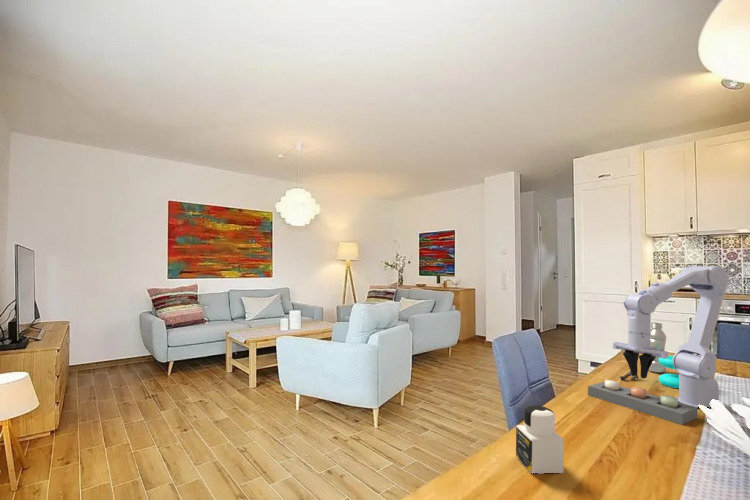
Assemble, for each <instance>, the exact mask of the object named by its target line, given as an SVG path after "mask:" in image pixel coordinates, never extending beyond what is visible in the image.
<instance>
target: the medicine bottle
mask: <svg viewBox="0 0 750 500" xmlns="http://www.w3.org/2000/svg"><path fill="white" fill-rule="evenodd" d="M523 413H524V414H523V415H524V419H523V420H524V421H523V423H524V424H517V425H516V427H515V428H516V430H515V431H516V432H515V457H516V458H517V459H518V461H519V462H520V463H521V464H522V465H523V467H525V469H526V470H527V471H528V473H529V474H531V473H532V474H531V475H536V474H535V473H538V474H537V475H543V474H544V473H559V474H564V469H565V467H564V464H565V463H564V462H565V461H564V459H565V456H564V455H565V453H564V452H565V440H564V438H563V437H562V436H560V434H558V433H557V432H555V431H556V430H555V429H556V414H555V412H554V411H553V410H552V409H550V408H548V407H546V406H542V405H528V406H526V407H525V408H524V411H523ZM533 473H534V474H533Z"/></svg>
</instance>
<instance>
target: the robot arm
mask: <svg viewBox="0 0 750 500" xmlns="http://www.w3.org/2000/svg"><path fill="white" fill-rule="evenodd" d="M729 279H730V276H729V275H728V273H727V271H726V270H725V268H723V267H722V266H720V265H716V266H715V265H714V266H712V265H711V266H707V265H706V266H705V265H704V266H703V265H701V266H700V265H688V266H686V267H685V268H681V270H680V272H679V273H677V274H675V276H673V277H671V278H670V279H668V280H667V281H665V282H655V281H654V282H652V283H651V284H650V286H648V287H647V288H645V289H641V290H639V292H637V293H631V294H628V296H626V298H625V301H623V307H624V309H625V310H626V315H627V316H628V318H627V319H628V323H627V325H628V327H627V329H628V330H627V331H628V332H627V334H628V338H627V341H628V342H627V343H625V342H619V341H615V342H613V343H612V348H613V349H615V350H621V351H624V352H623V353H622V355H623V357H624V358H625V360H626V362H627V364H628V367H629V371H631V377H632V376H633V377H634V376H636V375H638V363H639V364H640V379H647V377H648V373H649V371H650V370H649V368H650V366H651V364H652V362H653V361H654V359H655V358H656V357H660V358H663V359H666V358H668V356H669V351H666V350H664V351H662V350H658V349H654V348H650V347H651V329H652V327H651V323H652V321H651V320H652V319H651V318H652V317H651V316H652V314H653V313H654V312H655V311H656V308H657V307H658V306H659V305H661V304H662V303H664V302H666V301H667V300H669V299H671V298H672V297H673V293H674V292H677V291H678V290H680V289H682V288H685V287H686V286H689V287H690V288H691V289H692V290H693V291H694V292H695V293H698V295H699V297H700V299H699V302H698V305H697V308H696V311H695V312H696V313H695V316H694V318H693V323H692V325H691V330H690V332H689V336H688V339H687V342H685V343H683V344H681V345H678V349H677V350H676V352H675V353H674V355H672V356H673V365H674V367H675V368H676V369H677V370H676V372H677V373H678V375H679V389H678V397H677V396H674V397H675V398H677V399H678V402H680V403H683V404H687V405H691V406H694V407H698V405H699V404H700V405H704V406H706V407H709V408H708V409H711V408H710V405H709V403H710V401H711V400H712V399H715V400H719V401H720V399H719V398H720V388H719V387H720V386H719V382H718V381H717V380H716V379H715V378H714V377H713V376H714V375H715V373H716V372H717V364H716V362H717V358H718V357H717V355H716V354H715V353H714V352H713V351H712V350H711V349H710V347H711V344H712V340H713V337H714V333H715V330H716V326H717V323H718V320H719V316H720V311H721V307H722V305H723V301H724V299H725V293H726V290H727V286H728V284H729V283H728V282H729Z"/></svg>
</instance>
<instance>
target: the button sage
mask: <svg viewBox="0 0 750 500" xmlns="http://www.w3.org/2000/svg"><path fill="white" fill-rule="evenodd" d="M660 397H661V405H663V406H667V407H670V408H674V409H677V408H678V399H677V398H675V397H676V396H673V395H672V396H671V395H668V394H667V395H666V394H663V395H660Z"/></svg>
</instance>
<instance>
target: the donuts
mask: <svg viewBox="0 0 750 500" xmlns="http://www.w3.org/2000/svg"><path fill="white" fill-rule="evenodd" d="M673 356H674V355H668V358H666V359H663V358H659V363H660V364H661V365H663V366H665V367H666V369H671V370H676V371H677V369H676V368H675V367H674V365H673ZM658 381H659V383H660V384H661V385H663V386H665V387H669V388H673V389H677V390H679V374H678V373H663V374H662V373H661V374H660V375H659V376H658Z"/></svg>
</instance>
